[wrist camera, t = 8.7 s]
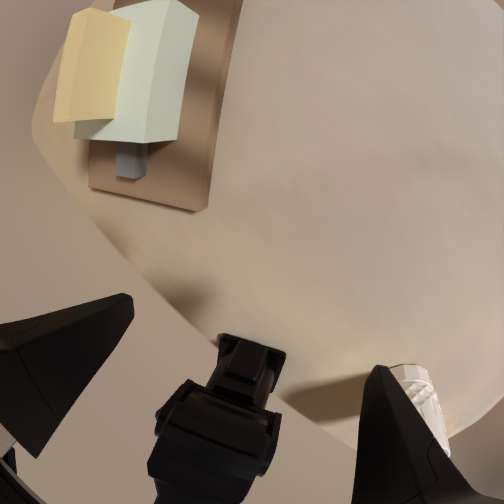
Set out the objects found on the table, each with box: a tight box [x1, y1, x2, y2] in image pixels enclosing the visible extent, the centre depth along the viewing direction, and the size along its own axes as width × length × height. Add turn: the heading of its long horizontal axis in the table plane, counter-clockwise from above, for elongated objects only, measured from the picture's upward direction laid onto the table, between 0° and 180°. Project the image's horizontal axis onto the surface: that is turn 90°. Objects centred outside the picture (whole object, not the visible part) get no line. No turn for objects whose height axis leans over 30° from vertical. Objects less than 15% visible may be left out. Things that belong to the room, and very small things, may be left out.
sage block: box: [53, 0, 199, 143], centre depth 13 cm, size 10×7×8 cm
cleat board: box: [89, 0, 243, 212], centre depth 17 cm, size 20×12×3 cm, turn 170°
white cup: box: [390, 365, 450, 457], centre depth 19 cm, size 8×8×10 cm
